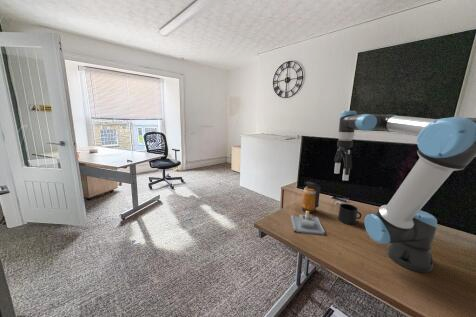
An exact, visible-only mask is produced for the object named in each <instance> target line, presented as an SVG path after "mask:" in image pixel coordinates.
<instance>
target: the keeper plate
mask: <svg viewBox="0 0 476 317" xmlns="http://www.w3.org/2000/svg"><path fill="white" fill-rule="evenodd" d="M304 215H305V219H309V215H310V212H309V211H305V214H304ZM313 219H314V228H311V227H301V225H300V222H299V216H294V215H293V214H290V220H291V225H293V226H292V230H294V231H296V232H295V233H299V232H301V234H312V235H321V236H325V234H326V231H325V229H324V228H323V226H322V224H321V221H320V219H319V217H318V216H315V217H313ZM294 231H293V232H294Z"/></svg>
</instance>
